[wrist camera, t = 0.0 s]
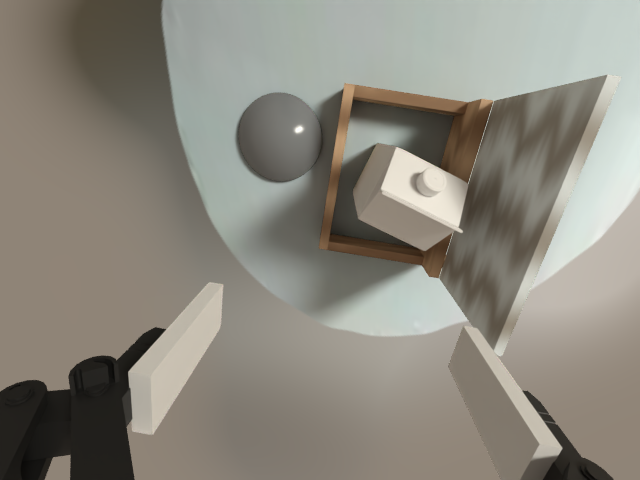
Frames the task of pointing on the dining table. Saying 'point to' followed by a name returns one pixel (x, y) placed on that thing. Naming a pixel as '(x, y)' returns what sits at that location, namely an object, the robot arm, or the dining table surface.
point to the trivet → (280, 136)
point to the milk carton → (409, 197)
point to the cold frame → (492, 191)
